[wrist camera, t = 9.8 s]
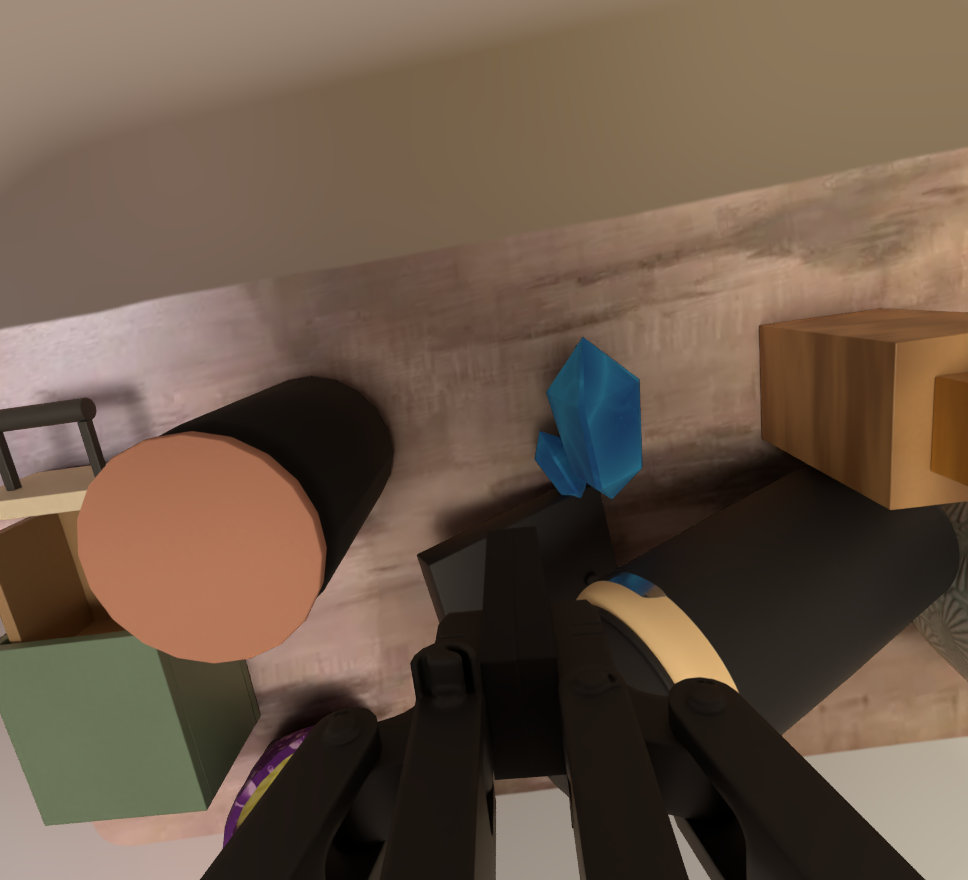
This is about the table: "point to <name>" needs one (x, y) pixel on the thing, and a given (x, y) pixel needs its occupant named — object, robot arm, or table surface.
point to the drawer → (47, 535)
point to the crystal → (592, 425)
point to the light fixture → (732, 587)
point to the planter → (951, 602)
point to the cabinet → (121, 725)
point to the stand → (864, 398)
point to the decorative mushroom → (262, 778)
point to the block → (951, 427)
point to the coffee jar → (234, 518)
